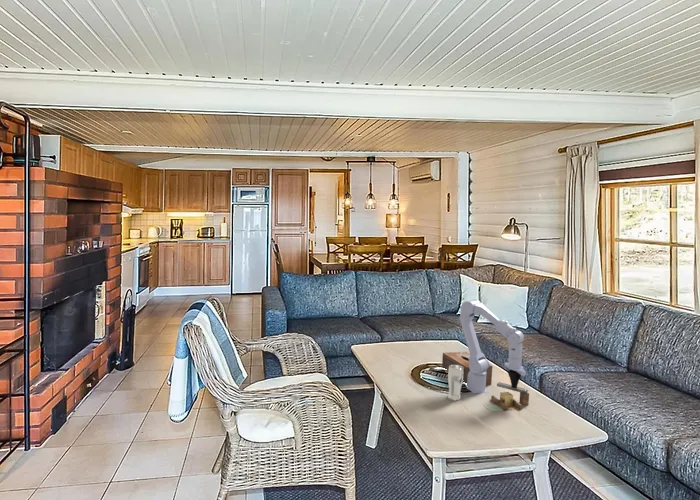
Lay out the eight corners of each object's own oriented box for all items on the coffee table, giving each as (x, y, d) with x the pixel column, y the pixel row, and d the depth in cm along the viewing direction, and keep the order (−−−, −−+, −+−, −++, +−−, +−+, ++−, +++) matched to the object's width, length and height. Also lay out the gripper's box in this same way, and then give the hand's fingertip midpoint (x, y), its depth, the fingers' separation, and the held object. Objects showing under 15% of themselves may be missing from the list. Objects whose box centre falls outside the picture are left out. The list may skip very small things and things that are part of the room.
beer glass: (451, 401, 219) (452, 369, 218) (444, 396, 225) (445, 364, 224) (464, 400, 220) (466, 368, 219) (457, 395, 227) (459, 364, 226)
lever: (499, 384, 227) (499, 382, 227) (528, 392, 219) (528, 389, 219) (496, 386, 225) (496, 383, 225) (526, 393, 217) (526, 391, 216)
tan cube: (499, 403, 218) (500, 392, 218) (507, 402, 219) (508, 392, 219) (504, 406, 214) (505, 395, 214) (512, 406, 215) (513, 395, 215)
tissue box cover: (491, 385, 244) (492, 365, 243) (465, 387, 240) (467, 367, 239) (465, 369, 269) (466, 351, 268) (441, 370, 265) (442, 352, 264)
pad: (483, 406, 214) (483, 405, 214) (496, 406, 216) (496, 404, 216) (490, 412, 208) (490, 411, 208) (503, 411, 210) (503, 410, 210)
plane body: (490, 401, 222) (490, 388, 221) (519, 399, 225) (519, 387, 225) (504, 411, 210) (505, 398, 210) (534, 409, 213) (535, 397, 213)
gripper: (532, 361, 216) (531, 391, 216) (514, 353, 230) (513, 381, 230) (518, 362, 214) (517, 392, 215) (500, 353, 228) (499, 381, 229)
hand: (514, 386), depth 222 cm, fingers closed, pressing on lever
